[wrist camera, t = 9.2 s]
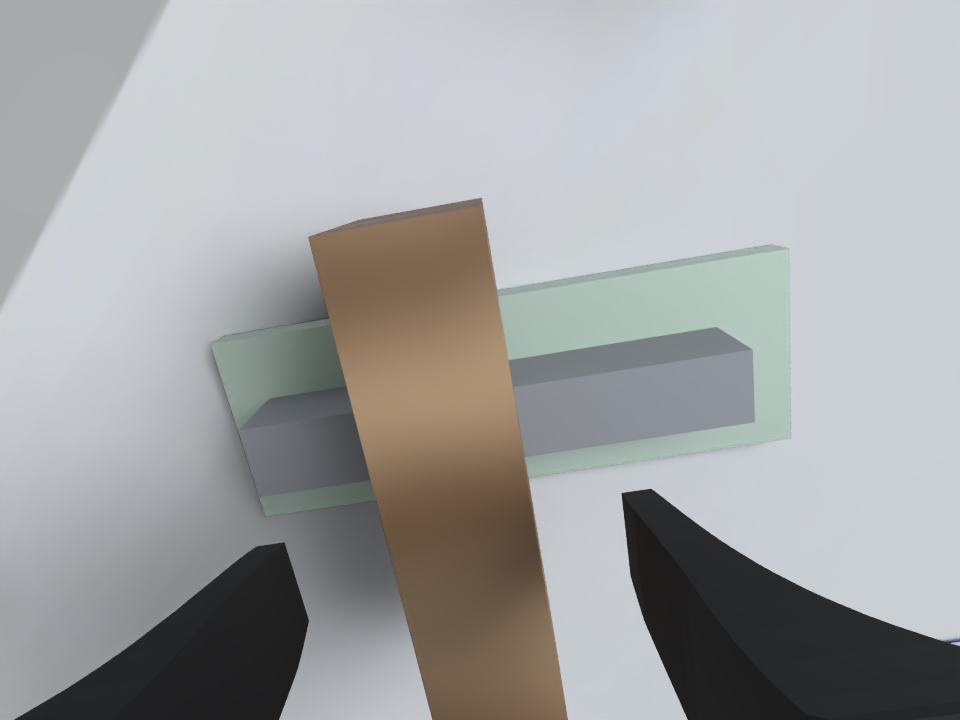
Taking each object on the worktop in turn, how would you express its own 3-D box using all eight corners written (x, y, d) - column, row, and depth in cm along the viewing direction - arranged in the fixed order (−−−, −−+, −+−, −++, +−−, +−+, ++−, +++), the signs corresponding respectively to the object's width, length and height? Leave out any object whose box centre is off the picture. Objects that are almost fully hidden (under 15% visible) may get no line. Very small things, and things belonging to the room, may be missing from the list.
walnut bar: (550, 608, 20) (571, 740, 15) (451, 622, 20) (442, 758, 16) (481, 198, 16) (481, 206, 11) (359, 219, 16) (308, 237, 12)
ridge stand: (775, 425, 23) (835, 475, 19) (275, 500, 24) (235, 562, 20) (772, 244, 20) (839, 259, 17) (224, 335, 22) (169, 369, 18)
